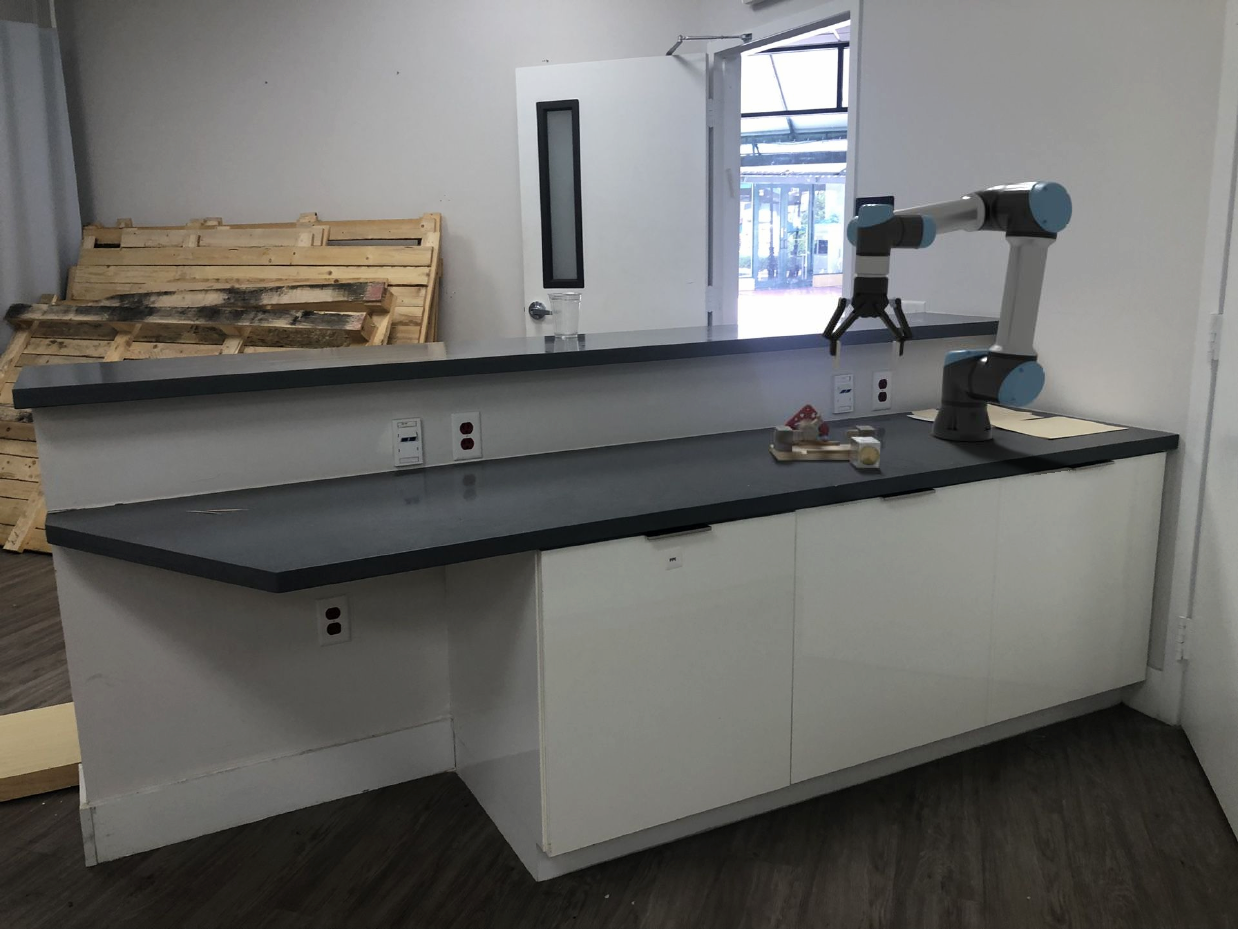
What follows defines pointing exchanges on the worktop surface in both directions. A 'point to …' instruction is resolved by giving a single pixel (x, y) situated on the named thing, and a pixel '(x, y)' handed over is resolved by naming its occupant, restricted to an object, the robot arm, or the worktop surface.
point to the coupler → (865, 452)
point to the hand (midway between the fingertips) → (865, 370)
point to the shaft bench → (813, 445)
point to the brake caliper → (810, 425)
